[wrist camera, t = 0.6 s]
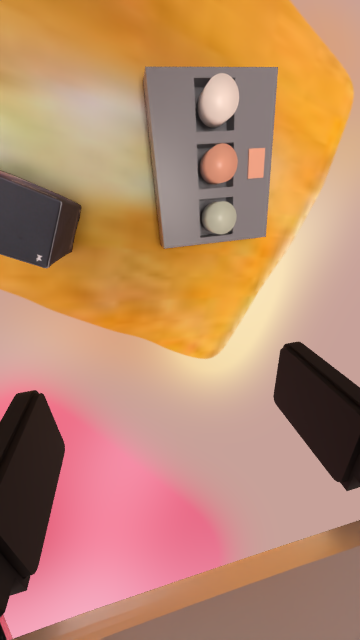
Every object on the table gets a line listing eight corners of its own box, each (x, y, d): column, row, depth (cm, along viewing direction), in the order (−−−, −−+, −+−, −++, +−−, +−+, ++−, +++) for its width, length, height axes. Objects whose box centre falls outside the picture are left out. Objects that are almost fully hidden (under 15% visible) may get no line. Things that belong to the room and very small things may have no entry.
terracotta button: (199, 149, 27) (205, 144, 25) (228, 147, 28) (238, 142, 26) (200, 185, 29) (206, 183, 27) (228, 183, 29) (237, 181, 27)
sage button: (200, 203, 30) (207, 202, 27) (228, 200, 30) (236, 200, 28) (202, 233, 31) (208, 235, 29) (228, 231, 32) (236, 232, 29)
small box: (83, 202, 29) (65, 199, 20) (71, 253, 31) (50, 273, 22) (-19, 160, 26) (-101, 132, 16) (-26, 221, 28) (-101, 228, 18)
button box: (143, 81, 26) (145, 65, 23) (263, 80, 28) (279, 66, 25) (161, 245, 33) (164, 248, 30) (254, 234, 35) (266, 236, 32)
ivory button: (196, 85, 25) (203, 73, 23) (229, 85, 25) (239, 73, 23) (198, 128, 26) (205, 121, 24) (229, 127, 27) (238, 120, 25)
